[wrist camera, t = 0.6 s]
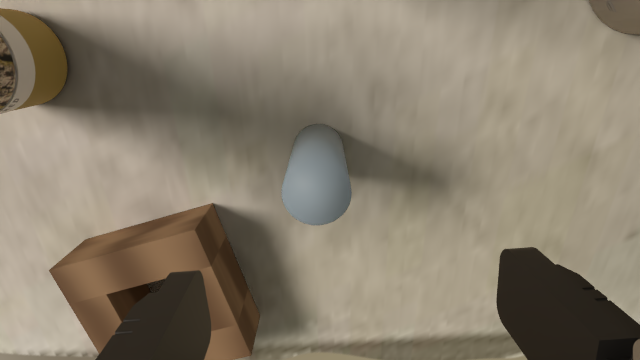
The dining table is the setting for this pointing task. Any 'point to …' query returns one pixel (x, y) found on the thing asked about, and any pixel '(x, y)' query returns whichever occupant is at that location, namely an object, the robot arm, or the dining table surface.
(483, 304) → the dining table surface
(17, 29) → the brown bark cylinder
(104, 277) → the socket block
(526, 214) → the dining table surface
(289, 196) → the peg
